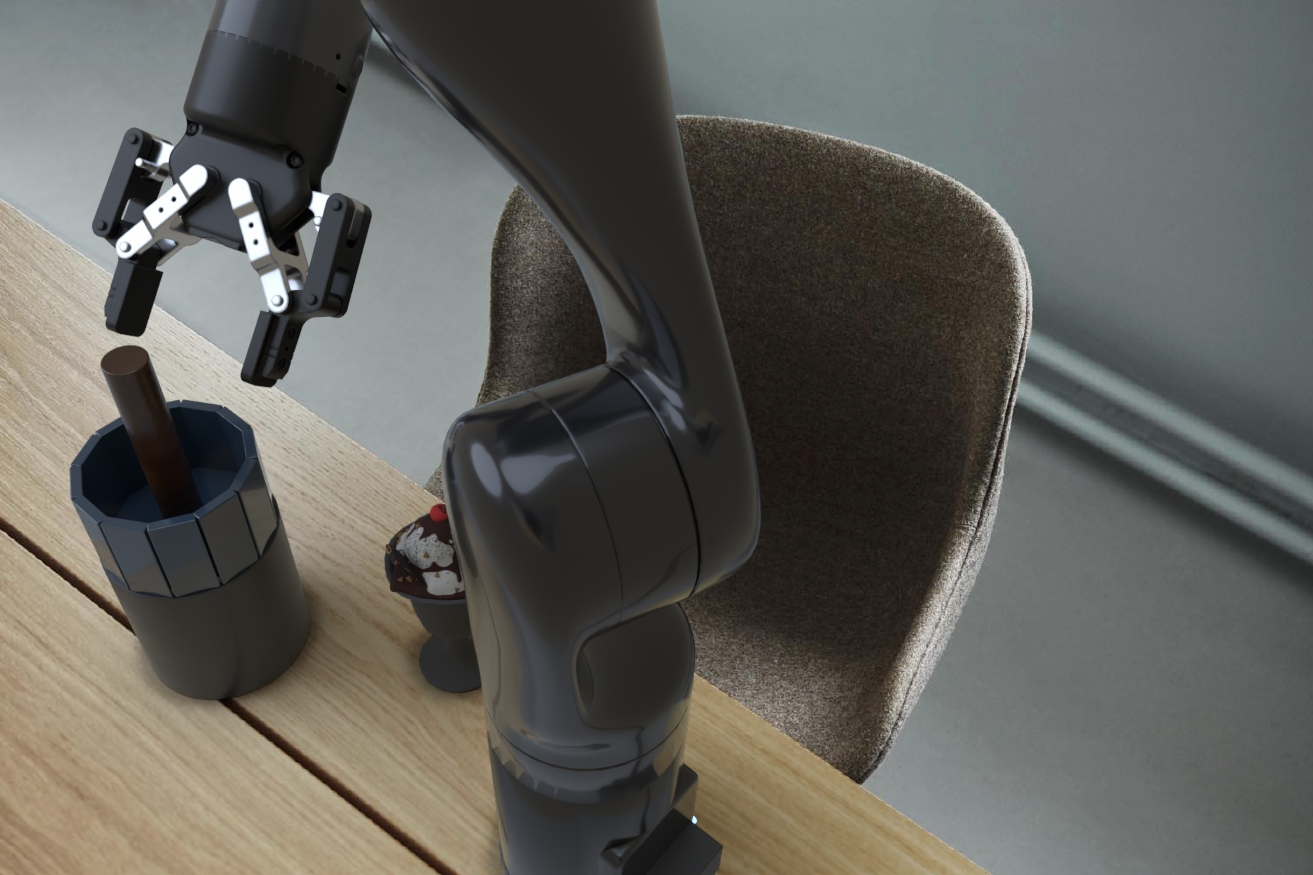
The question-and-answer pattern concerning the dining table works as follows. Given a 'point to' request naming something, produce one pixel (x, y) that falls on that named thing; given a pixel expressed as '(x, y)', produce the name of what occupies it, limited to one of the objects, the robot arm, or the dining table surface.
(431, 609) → the sundae
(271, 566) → the stand
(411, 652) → the dining table surface
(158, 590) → the bowl
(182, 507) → the stick
